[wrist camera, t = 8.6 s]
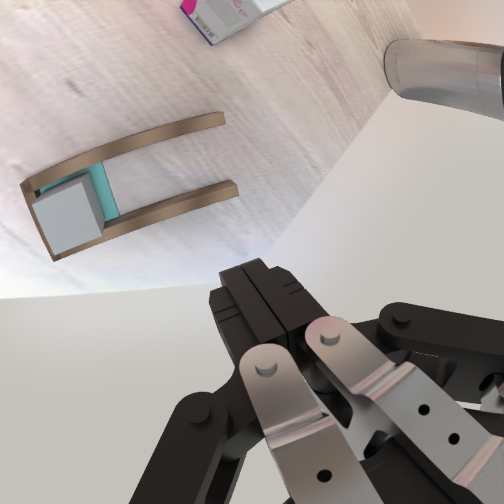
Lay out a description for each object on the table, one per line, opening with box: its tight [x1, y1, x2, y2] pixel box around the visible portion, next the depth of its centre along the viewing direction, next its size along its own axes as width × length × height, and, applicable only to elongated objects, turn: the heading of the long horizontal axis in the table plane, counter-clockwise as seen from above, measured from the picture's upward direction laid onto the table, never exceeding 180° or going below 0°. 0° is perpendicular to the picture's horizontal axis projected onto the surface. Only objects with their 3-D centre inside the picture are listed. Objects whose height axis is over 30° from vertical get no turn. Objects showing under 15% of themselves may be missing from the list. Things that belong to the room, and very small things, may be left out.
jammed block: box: [32, 171, 105, 255], centre depth 22 cm, size 5×5×4 cm
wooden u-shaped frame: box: [20, 112, 239, 262], centre depth 25 cm, size 20×9×2 cm, turn 99°
